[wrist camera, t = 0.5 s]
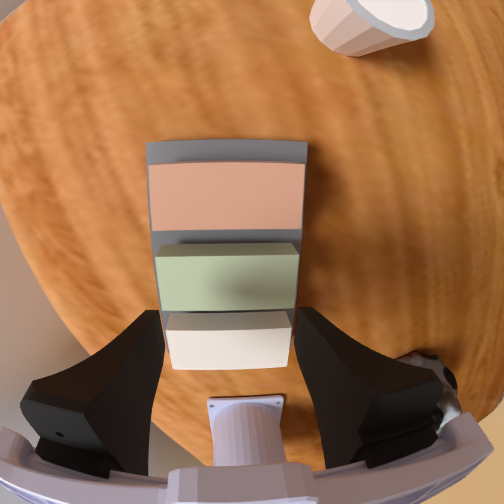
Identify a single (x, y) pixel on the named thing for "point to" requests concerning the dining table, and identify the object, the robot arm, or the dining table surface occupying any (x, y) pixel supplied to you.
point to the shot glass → (370, 23)
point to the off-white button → (228, 340)
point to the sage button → (227, 276)
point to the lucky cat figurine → (448, 401)
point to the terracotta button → (226, 195)
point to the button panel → (226, 151)
